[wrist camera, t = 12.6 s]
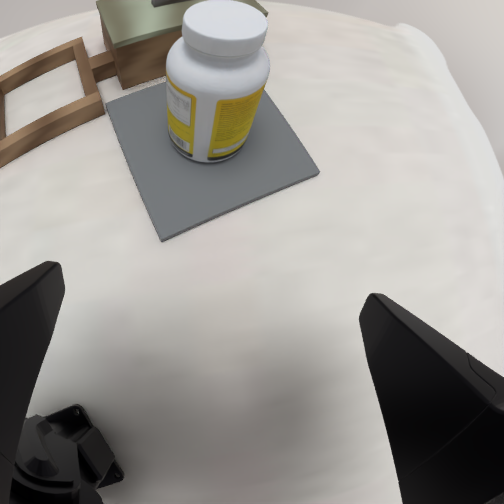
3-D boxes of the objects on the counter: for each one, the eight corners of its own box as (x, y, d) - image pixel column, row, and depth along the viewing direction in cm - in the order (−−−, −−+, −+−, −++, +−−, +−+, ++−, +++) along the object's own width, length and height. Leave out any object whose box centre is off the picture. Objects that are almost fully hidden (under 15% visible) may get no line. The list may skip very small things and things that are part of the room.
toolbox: (-2, 169, 20) (-39, 126, 14) (-5, 93, 22) (-27, 51, 15) (264, 66, 28) (282, 15, 22) (218, 14, 30) (227, -32, 23)
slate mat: (161, 242, 22) (160, 239, 21) (106, 107, 24) (105, 103, 23) (317, 175, 26) (320, 171, 25) (242, 66, 28) (243, 62, 27)
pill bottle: (259, 125, 25) (303, 19, 14) (220, 180, 23) (251, 67, 12) (196, 94, 25) (210, -16, 14) (151, 142, 23) (141, 25, 12)
